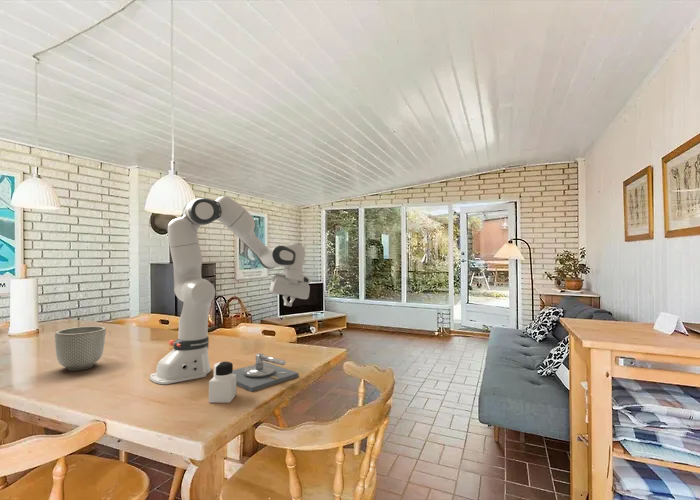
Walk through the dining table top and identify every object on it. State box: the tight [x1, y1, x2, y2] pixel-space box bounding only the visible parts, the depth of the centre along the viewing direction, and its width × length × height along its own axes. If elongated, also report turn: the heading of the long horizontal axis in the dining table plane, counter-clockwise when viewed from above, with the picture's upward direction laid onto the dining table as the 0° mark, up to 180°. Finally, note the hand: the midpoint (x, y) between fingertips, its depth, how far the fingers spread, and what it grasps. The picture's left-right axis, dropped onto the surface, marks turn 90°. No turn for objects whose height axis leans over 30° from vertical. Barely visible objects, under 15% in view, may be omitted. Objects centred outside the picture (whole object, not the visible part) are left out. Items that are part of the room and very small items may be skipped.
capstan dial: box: [244, 353, 287, 378], centre depth 141 cm, size 20×12×7 cm, turn 56°
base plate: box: [233, 361, 299, 393], centre depth 143 cm, size 22×22×2 cm
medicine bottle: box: [208, 361, 237, 404], centre depth 122 cm, size 7×7×12 cm
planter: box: [54, 325, 107, 372], centre depth 152 cm, size 17×17×16 cm
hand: (287, 305), depth 168 cm, fingers closed
